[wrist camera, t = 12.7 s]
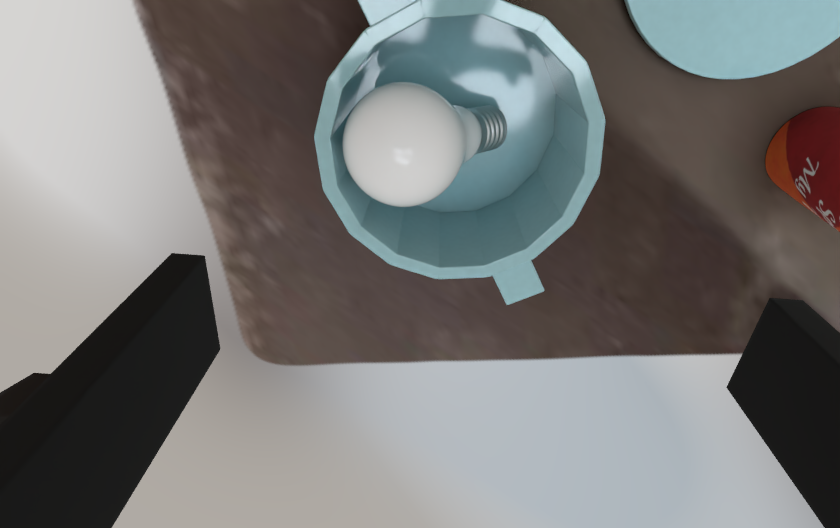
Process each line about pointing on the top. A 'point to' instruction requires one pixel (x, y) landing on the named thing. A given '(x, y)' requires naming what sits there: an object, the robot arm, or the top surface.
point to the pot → (485, 172)
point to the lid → (735, 33)
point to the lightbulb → (414, 142)
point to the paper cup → (809, 161)
